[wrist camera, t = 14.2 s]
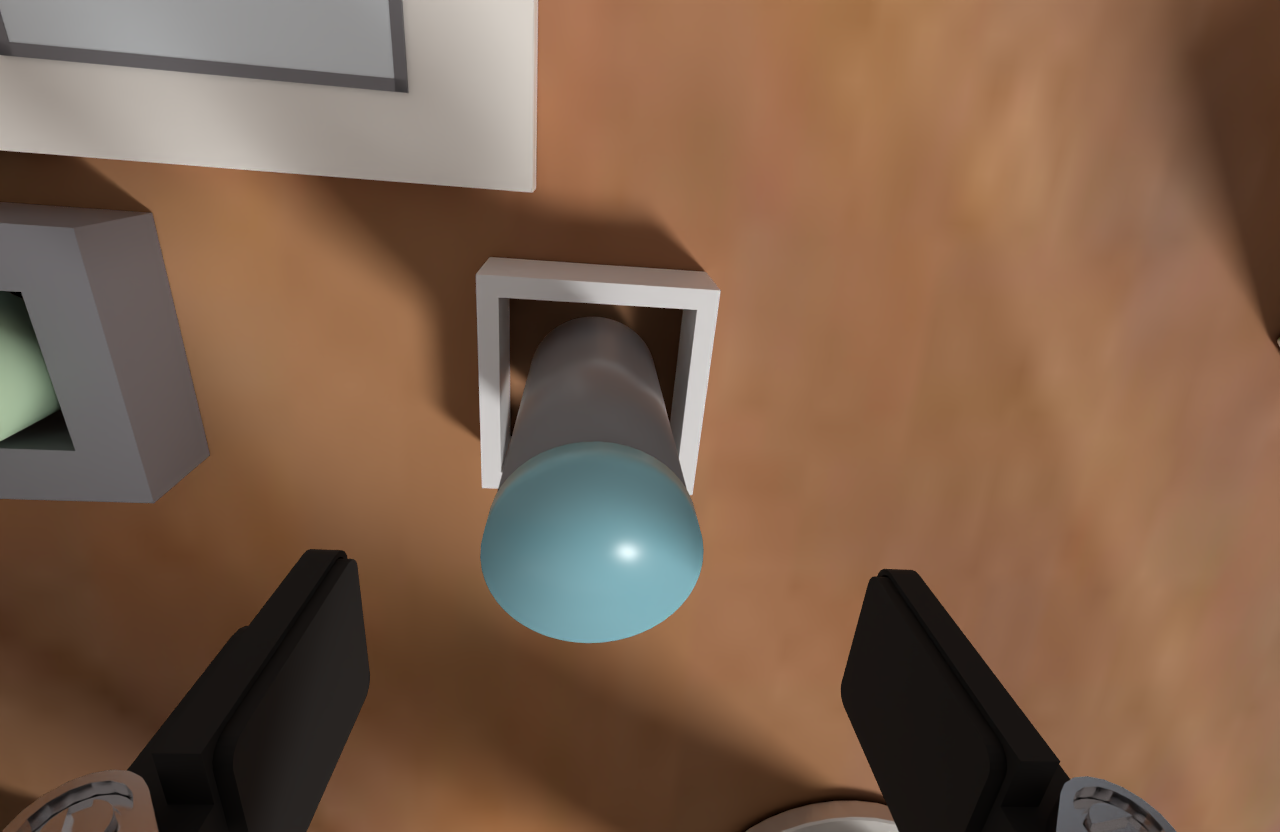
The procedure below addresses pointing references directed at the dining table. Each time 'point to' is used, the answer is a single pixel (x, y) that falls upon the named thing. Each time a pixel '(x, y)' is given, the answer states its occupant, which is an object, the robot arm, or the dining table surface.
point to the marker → (591, 494)
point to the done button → (21, 370)
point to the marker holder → (598, 287)
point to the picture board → (279, 86)
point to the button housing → (99, 358)
